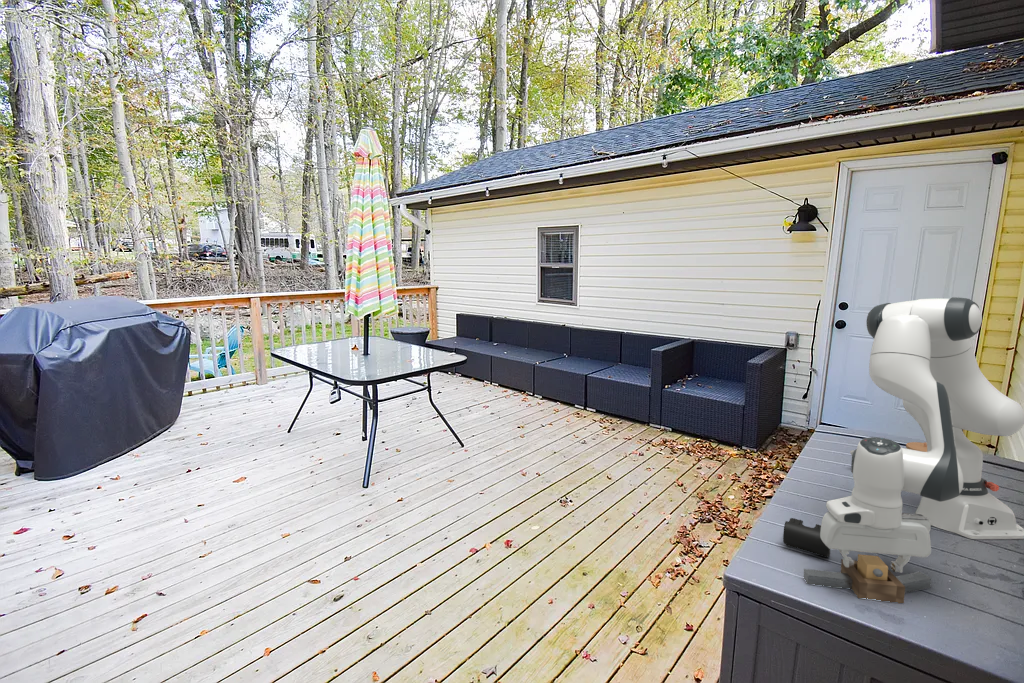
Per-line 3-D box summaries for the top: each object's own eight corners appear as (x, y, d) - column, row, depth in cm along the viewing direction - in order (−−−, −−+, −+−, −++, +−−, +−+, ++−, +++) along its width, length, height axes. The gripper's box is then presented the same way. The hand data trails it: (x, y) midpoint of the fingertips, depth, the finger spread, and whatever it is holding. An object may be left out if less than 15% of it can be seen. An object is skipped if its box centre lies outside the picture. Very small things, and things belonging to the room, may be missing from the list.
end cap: (782, 549, 118) (783, 525, 117) (786, 537, 123) (787, 514, 122) (828, 563, 111) (829, 538, 111) (831, 550, 117) (832, 526, 116)
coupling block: (874, 582, 104) (876, 554, 103) (887, 597, 99) (889, 568, 98) (855, 580, 105) (856, 552, 104) (866, 595, 100) (868, 566, 99)
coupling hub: (881, 578, 105) (882, 563, 104) (903, 603, 97) (905, 586, 96) (840, 574, 107) (841, 559, 107) (858, 598, 99) (859, 582, 98)
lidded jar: (902, 459, 172) (904, 436, 170) (941, 465, 165) (943, 440, 164) (906, 469, 163) (908, 444, 162) (946, 475, 157) (949, 450, 156)
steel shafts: (924, 581, 103) (924, 572, 103) (942, 599, 98) (943, 589, 97) (797, 568, 110) (797, 559, 110) (807, 584, 104) (807, 575, 104)
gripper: (921, 508, 100) (917, 565, 102) (818, 501, 105) (816, 555, 107) (941, 522, 94) (936, 583, 96) (830, 514, 99) (827, 572, 101)
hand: (871, 568), depth 101 cm, fingers open, 8 cm apart
